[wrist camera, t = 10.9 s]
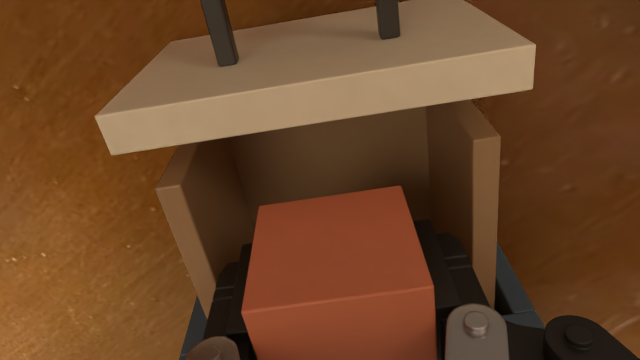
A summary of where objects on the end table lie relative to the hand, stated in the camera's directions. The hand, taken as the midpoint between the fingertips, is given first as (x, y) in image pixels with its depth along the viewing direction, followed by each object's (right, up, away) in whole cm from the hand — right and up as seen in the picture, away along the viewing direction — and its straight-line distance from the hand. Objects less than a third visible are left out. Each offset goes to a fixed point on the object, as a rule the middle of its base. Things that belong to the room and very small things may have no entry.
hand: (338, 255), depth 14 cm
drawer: (0, +5, +7) cm, 8 cm away
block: (0, 0, 0) cm, 0 cm away
